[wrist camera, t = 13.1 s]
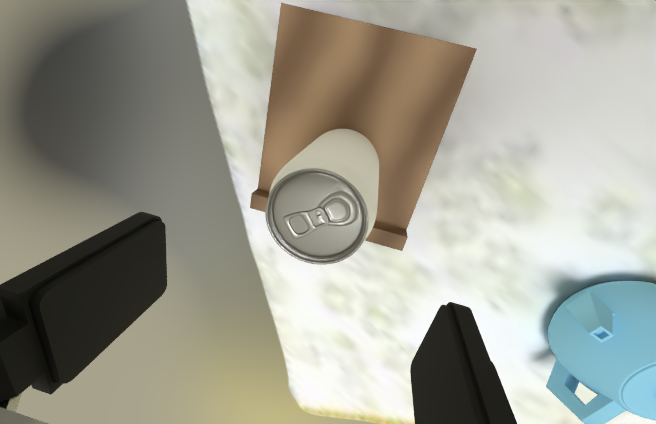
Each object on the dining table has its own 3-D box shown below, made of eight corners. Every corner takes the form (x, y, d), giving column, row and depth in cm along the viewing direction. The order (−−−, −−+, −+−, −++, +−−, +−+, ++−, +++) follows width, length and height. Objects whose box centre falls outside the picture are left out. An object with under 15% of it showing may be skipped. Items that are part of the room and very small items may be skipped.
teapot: (543, 266, 33) (610, 340, 24) (708, 263, 30) (863, 348, 20) (527, 362, 39) (575, 454, 29) (663, 368, 36) (768, 474, 26)
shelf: (457, 56, 27) (483, 46, 20) (398, 217, 34) (402, 250, 27) (301, 19, 28) (274, -3, 21) (275, 183, 35) (250, 207, 28)
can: (389, 183, 26) (395, 252, 15) (326, 207, 28) (291, 283, 17) (362, 114, 24) (346, 138, 13) (296, 145, 26) (236, 188, 15)
